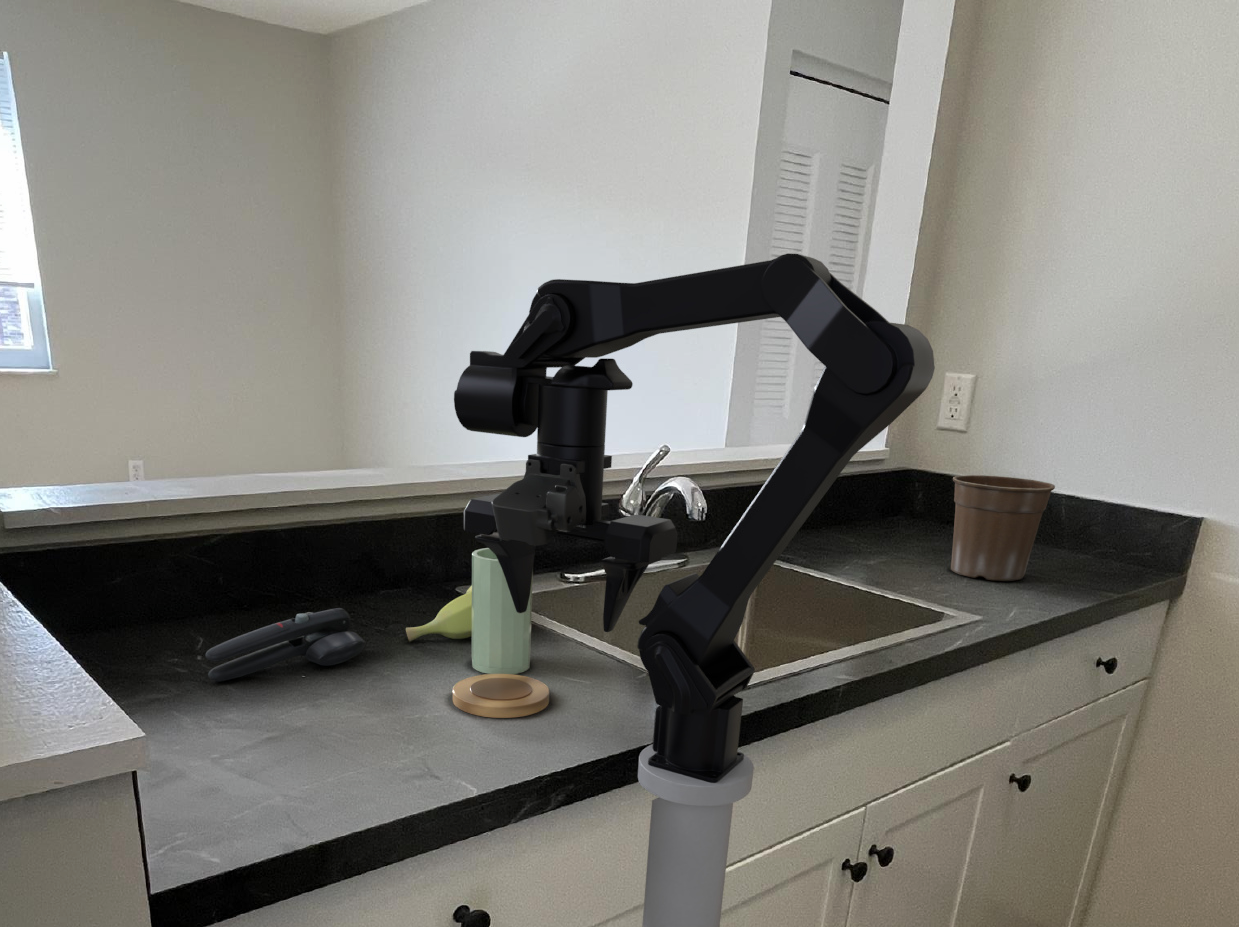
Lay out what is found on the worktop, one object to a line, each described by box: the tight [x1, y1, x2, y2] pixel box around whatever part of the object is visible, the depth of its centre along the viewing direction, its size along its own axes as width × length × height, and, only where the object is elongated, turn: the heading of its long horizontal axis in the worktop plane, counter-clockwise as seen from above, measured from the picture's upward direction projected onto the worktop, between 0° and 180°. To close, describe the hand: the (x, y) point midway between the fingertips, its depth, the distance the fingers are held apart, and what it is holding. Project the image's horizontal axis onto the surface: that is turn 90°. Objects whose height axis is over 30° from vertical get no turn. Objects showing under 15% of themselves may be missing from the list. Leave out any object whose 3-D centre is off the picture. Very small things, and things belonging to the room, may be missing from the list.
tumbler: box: [471, 547, 534, 675], centre depth 110 cm, size 7×7×13 cm
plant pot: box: [950, 474, 1056, 582], centre depth 168 cm, size 16×16×16 cm
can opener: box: [205, 607, 367, 682], centre depth 107 cm, size 18×7×6 cm, turn 135°
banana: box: [405, 585, 472, 642], centre depth 126 cm, size 14×6×20 cm
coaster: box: [452, 673, 550, 719], centre depth 101 cm, size 10×10×1 cm
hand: (563, 621), depth 87 cm, fingers open, 9 cm apart
